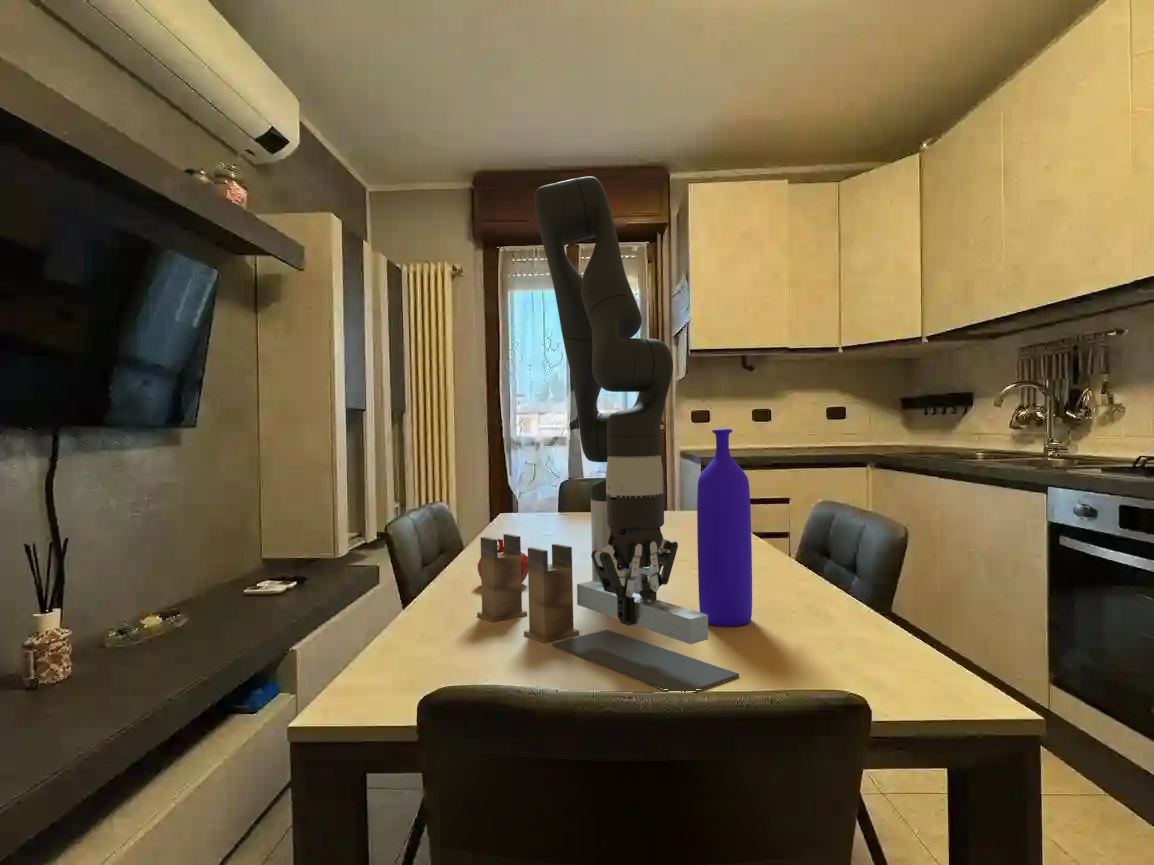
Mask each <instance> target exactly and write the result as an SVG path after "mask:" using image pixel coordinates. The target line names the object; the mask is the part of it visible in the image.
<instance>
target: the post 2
mask: <svg viewBox="0 0 1154 865" xmlns="http://www.w3.org/2000/svg"><path fill="white" fill-rule="evenodd" d="M548 551H549V550H546V549H541V548H537V547H533V546H532V547H527V557H528V574H527V576H528V577H527V580H528V581H527V583H528V585H527V586H528V622H529V623H528V624H529V626H528V627H529V629H526V630H523V636H525V637H528V638H531V639H533V640H535V641H539V642H540V643H543V644H546V643H549V642H553V641H558V640H563V639H566V638H569V637H573V636H579V635H580V630H579V629H577V628H574V595H573V594H574V592H573V591H574V589H573V587H574V586H573V547H572V546H570V545H569V546H568V545H564V544H561V543H551V563H549V558H548V557H549V555H548V554H549V552H548Z"/></svg>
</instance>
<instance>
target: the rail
mask: <svg viewBox="0 0 1154 865" xmlns="http://www.w3.org/2000/svg"><path fill="white" fill-rule="evenodd" d="M576 596H577V597H576V605H577V606H579V607H582V608H585V609H588V610H590V611H594V612H597V613H600V614H602V615H605V616H608V617H611V618H613V619H617V620H619V619H618V614H617V612H618V611H617V609H618V608H617V595H616V594H615V593H611V592H607V591H605V590H604V588H603V586H602V583H599V582H596V581H592V580H590V581H586V582H585V581H584V582H580V583H576ZM632 596H633V597H634V617H635V623H634V626H637V627H640V628H643V629H645V630H648V631H651V632H653V633H657V634H660V635H662V636H664V637H668V638H671V639H673V640H677V641H680V642H682V643H686V644H688V645H694V644H697V643H700V642H704V641H707V640H708V639H709V624H708V615H707V614H704V613H700V611H697V610H693V609H689V608H686V607H684V606H679V605H678V604H677V605H676V604H673V603H669V602H666V601H663V600H659V599H658V598H657V599H653V598H649V597H646V596H643V595H640V593H639V594H636V593H633V595H632Z"/></svg>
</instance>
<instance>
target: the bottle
mask: <svg viewBox="0 0 1154 865" xmlns="http://www.w3.org/2000/svg"><path fill="white" fill-rule="evenodd" d="M711 432H712V433H713V434H714V435H715V446H716V447H715V453H714V456H713V458H712V459H711V461H710V462H709V463H708V464H707V465H706V466H705V468H704V470H702V472H701V474H700V475H699V477H698V480H697V492H696V493H697V497H696V500H697V501H696V504H697V505H696V508H697V509H696V515H697V516H696V520H697V521H696V526H697V528H696V529H697V530H696V533H697V534H696V535H697V538H696V539H697V573H698V574H697V576H698V577H697V579H698V581H697V582H698V604H699V612H700V613H704V614H707V615H708V626H709V625H711V626H713V627H714V626H715V627H721V628H722V627H723V628H734V627H735V628H737V627H743V626H747V625H748V624H750V622H751V621H752V614H753V561H752V560H753V559H752V558H753V555H752V554H753V550H752V548H753V547H752V546H753V545H752V516H751V515H752V513H751V512H752V511H751V508H752V507H751V492H750V491H751V490H750V483H749V478H748V476H747V475H746V473H745V471H744V470H743V469H742V468H741V466H740V465H739V464H738V463H737V462H736V461H735V460H734V458H733V457H732V454H731V452H730V438H729V437H730V434H731V433H733V429H730V428H720V429H719V428H715V429H712V431H711Z"/></svg>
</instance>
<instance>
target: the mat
mask: <svg viewBox="0 0 1154 865" xmlns="http://www.w3.org/2000/svg"><path fill="white" fill-rule="evenodd" d="M552 646H553V647H554V648H558V649H560V650H562V651H565V652H566V653H569V654H571V655H575V656H577V657H580V658H581V659H585V660H587V661H589V662H592V663H595V664H597V665H600V666H603V667H604V668H607V669H609V670H612V671H614V672H617V673H619V674H621V675H624V674H625V676H627V677H629V676H630V677H629V678H632V679H634V678H635V680H636V681H639V680H640V681H639V682H642V683H644V682H645V683H644V684H646V685H649V684H650V685H649V686H651V685H653V686H652V687H654V686H656V687H659V688H662V689H668V690H665V692H666V691H681V692H682V691H684V692H686V691H698V692H700V691H702V690H696V689H704V690H706V689H705V688H707V689H709V688H711V687H710V686H712V687H714V686H713V685H715V686H717V685H716V684H718V685H720V684H719V683H721V684H723V683H722V682H724V681H726V682H728V681H727V680H729V681H731V680H730V679H732V680H734V679H733V678H735V679H737V678H736V677H738V678H739V677H740V673H738V672H735V671H732V670H729V669H726V668H723V667H721V666H718V665H714V664H710V663H708V662H705V661H702V660H699V659H697V658H694V657H690V656H687V655H684V654H683V653H679V652H677V651H674V650H673V651H672V650H669V649H667V648H663V647H660V646H657V645H654V644H651V643H649V642H645V641H643V640H639V639H637V638H634V637H631V636H628V635H626V634H625V635H624V634H622V633H618V632H617V631H613V630H610V629H604V630H599V631H596V632H591V633H587V634H584V635H578V636H575V637H572V638H567V639H562V640H559V641H555V642H553V643H552ZM724 683H725V682H724ZM656 687H655V688H656ZM708 687H709V688H708ZM659 688H658V689H659Z"/></svg>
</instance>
